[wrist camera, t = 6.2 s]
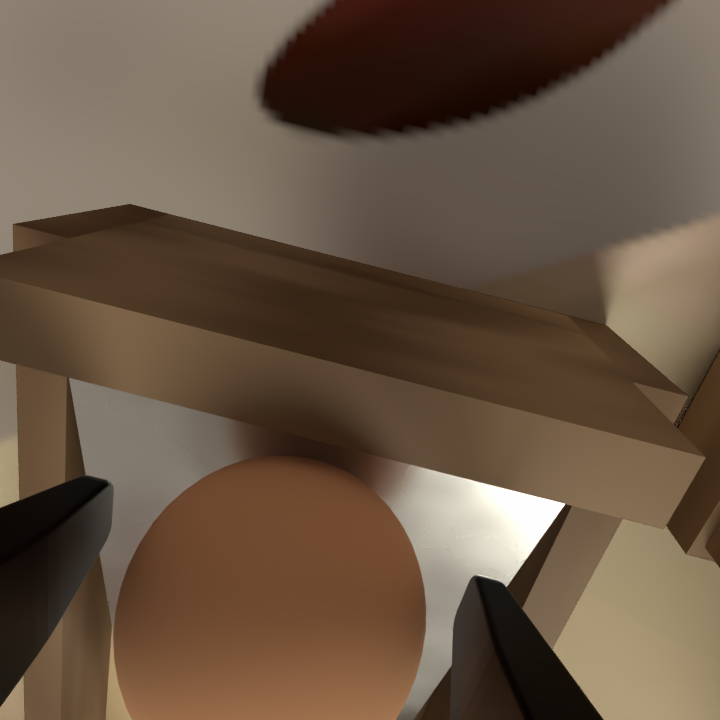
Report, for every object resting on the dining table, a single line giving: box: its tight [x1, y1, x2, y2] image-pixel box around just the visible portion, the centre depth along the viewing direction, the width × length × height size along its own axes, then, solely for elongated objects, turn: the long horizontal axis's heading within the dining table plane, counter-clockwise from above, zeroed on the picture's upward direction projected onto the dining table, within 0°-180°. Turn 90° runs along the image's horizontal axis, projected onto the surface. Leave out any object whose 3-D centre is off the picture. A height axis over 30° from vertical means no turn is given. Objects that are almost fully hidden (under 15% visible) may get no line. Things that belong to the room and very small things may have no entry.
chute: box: [69, 378, 565, 720], centre depth 12 cm, size 9×13×4 cm, turn 167°
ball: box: [113, 455, 426, 720], centre depth 8 cm, size 4×4×4 cm
